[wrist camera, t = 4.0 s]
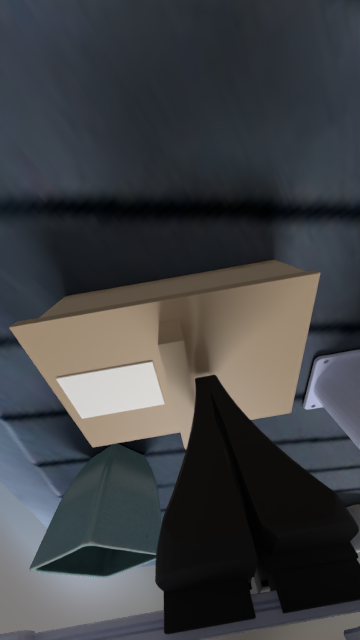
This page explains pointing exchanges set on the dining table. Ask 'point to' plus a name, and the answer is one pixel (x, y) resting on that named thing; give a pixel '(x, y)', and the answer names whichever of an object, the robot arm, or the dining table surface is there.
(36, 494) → the dining table surface
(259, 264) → the box
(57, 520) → the flower pot
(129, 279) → the dining table surface
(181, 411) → the mailer lid
